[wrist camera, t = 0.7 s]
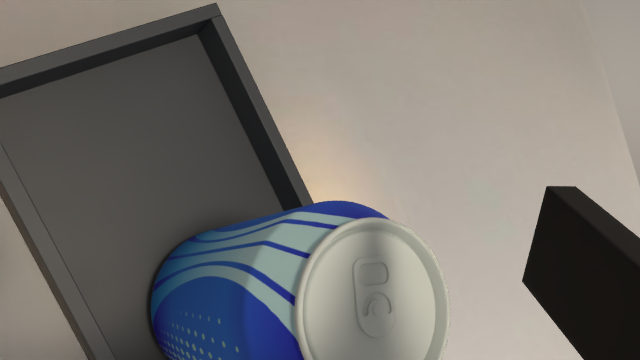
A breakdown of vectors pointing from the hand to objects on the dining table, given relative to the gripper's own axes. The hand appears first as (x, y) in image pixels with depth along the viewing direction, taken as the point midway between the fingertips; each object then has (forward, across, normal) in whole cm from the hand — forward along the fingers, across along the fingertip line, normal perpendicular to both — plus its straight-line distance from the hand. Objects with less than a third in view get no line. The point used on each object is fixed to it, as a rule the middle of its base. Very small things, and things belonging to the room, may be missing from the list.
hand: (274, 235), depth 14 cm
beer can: (+17, -2, -14) cm, 22 cm away
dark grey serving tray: (+19, -4, -10) cm, 22 cm away
